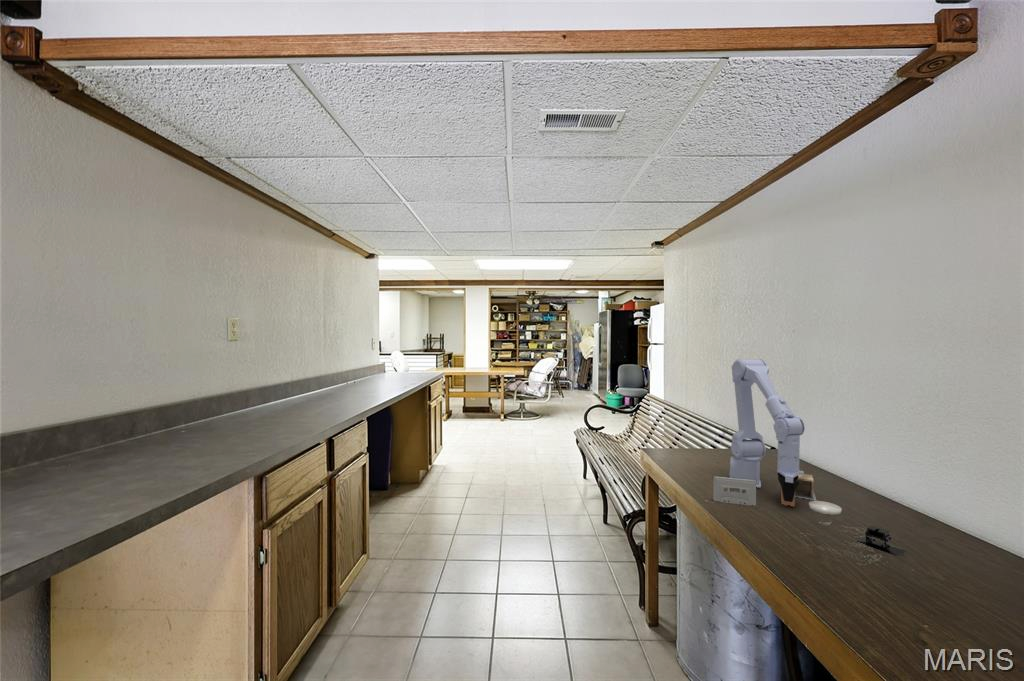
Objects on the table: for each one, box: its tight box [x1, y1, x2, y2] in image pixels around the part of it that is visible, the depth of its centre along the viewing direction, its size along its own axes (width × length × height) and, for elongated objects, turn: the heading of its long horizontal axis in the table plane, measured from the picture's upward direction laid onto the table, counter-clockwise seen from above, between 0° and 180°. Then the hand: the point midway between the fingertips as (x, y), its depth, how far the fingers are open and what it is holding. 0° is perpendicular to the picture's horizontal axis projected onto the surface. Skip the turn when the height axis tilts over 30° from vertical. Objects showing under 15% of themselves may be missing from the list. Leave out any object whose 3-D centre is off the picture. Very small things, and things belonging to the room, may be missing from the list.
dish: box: [808, 500, 842, 516], centre depth 133 cm, size 8×8×1 cm
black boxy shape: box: [856, 525, 907, 557], centre depth 110 cm, size 12×7×5 cm, turn 32°
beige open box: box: [795, 473, 815, 499], centre depth 145 cm, size 5×6×6 cm
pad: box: [795, 492, 817, 501], centre depth 145 cm, size 7×7×1 cm
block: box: [780, 486, 796, 507], centre depth 138 cm, size 3×3×5 cm
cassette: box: [712, 475, 757, 507], centre depth 138 cm, size 12×2×8 cm, turn 70°
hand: (787, 499), depth 138 cm, fingers closed on block, 3 cm apart
